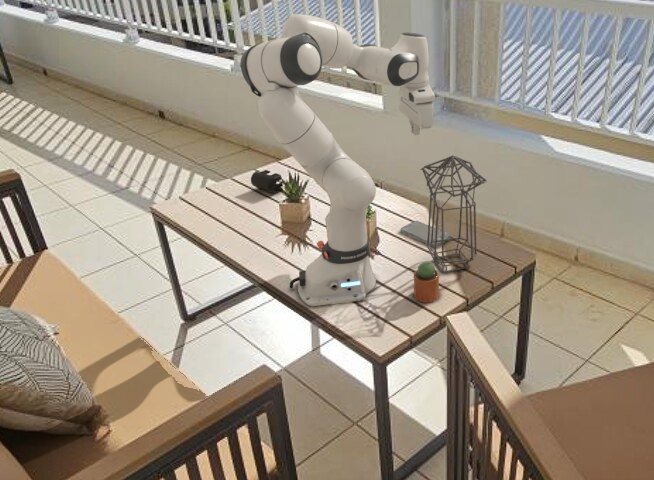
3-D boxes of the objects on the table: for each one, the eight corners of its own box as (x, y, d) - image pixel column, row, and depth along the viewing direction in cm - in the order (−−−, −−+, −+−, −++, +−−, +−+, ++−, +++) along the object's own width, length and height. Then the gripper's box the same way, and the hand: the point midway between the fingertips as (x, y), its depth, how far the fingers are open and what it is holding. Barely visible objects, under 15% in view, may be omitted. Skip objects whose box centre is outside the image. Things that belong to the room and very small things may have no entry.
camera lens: (252, 190, 235) (249, 174, 232) (266, 183, 240) (263, 167, 236) (270, 196, 230) (267, 180, 227) (284, 190, 235) (281, 173, 231)
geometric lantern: (420, 254, 193) (418, 149, 175) (468, 247, 196) (471, 143, 178) (433, 281, 180) (433, 170, 162) (485, 273, 183) (490, 164, 165)
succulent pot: (419, 304, 171) (418, 272, 165) (410, 291, 176) (409, 259, 171) (442, 299, 173) (442, 266, 167) (433, 286, 178) (433, 254, 173)
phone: (435, 248, 196) (435, 244, 196) (399, 232, 206) (399, 228, 205) (452, 238, 201) (452, 235, 201) (416, 223, 211) (416, 219, 210)
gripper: (392, 81, 191) (394, 124, 198) (416, 100, 175) (417, 146, 182) (411, 79, 193) (412, 121, 200) (437, 97, 177) (437, 142, 184)
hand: (415, 133), depth 191 cm, fingers closed
